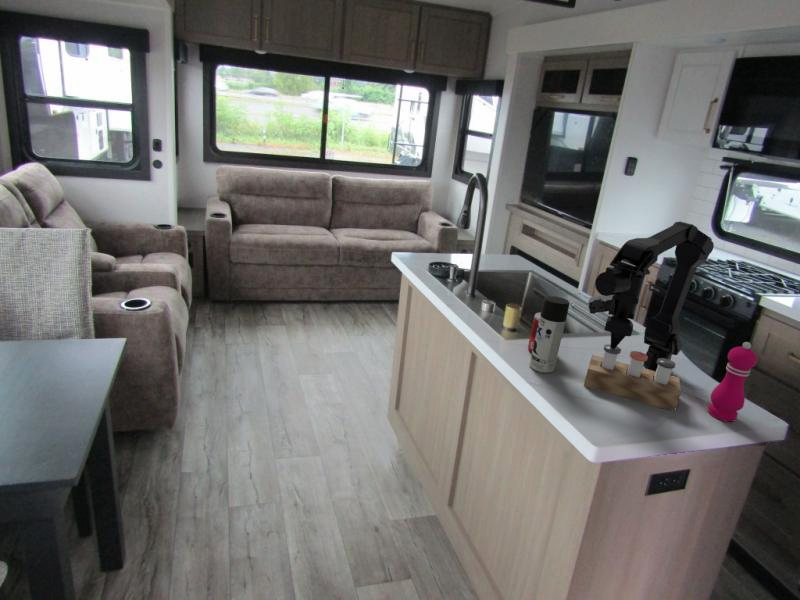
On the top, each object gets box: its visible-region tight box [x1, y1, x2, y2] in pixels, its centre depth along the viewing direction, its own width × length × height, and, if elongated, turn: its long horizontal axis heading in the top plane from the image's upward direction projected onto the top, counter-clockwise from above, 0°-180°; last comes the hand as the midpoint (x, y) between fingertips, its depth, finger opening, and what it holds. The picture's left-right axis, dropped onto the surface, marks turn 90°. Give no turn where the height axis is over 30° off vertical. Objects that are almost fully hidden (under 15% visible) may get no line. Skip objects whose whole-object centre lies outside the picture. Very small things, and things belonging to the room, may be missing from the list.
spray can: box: [529, 295, 571, 374], centre depth 148 cm, size 7×7×20 cm
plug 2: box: [653, 358, 677, 385], centre depth 140 cm, size 4×4×7 cm
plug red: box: [627, 350, 648, 378], centre depth 143 cm, size 4×4×7 cm
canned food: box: [527, 312, 541, 354], centre depth 160 cm, size 8×8×11 cm
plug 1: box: [601, 343, 622, 370], centre depth 145 cm, size 4×4×7 cm
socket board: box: [583, 354, 681, 412], centre depth 144 cm, size 22×10×5 cm, turn 66°
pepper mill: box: [707, 341, 758, 422], centre depth 134 cm, size 7×7×20 cm
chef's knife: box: [680, 383, 712, 404], centre depth 149 cm, size 19×1×3 cm
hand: (612, 347), depth 144 cm, fingers closed
